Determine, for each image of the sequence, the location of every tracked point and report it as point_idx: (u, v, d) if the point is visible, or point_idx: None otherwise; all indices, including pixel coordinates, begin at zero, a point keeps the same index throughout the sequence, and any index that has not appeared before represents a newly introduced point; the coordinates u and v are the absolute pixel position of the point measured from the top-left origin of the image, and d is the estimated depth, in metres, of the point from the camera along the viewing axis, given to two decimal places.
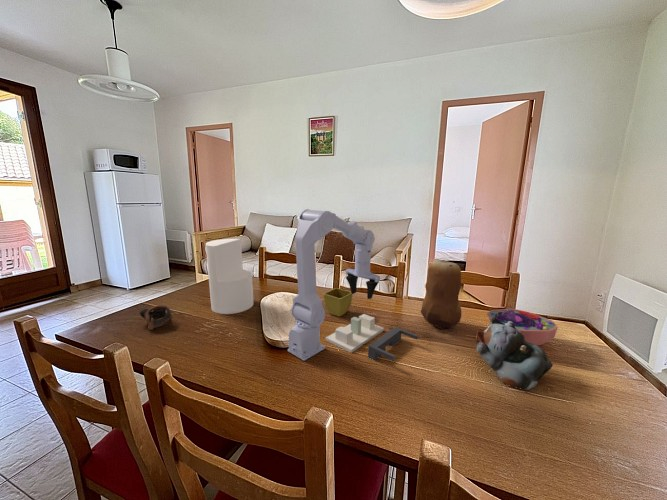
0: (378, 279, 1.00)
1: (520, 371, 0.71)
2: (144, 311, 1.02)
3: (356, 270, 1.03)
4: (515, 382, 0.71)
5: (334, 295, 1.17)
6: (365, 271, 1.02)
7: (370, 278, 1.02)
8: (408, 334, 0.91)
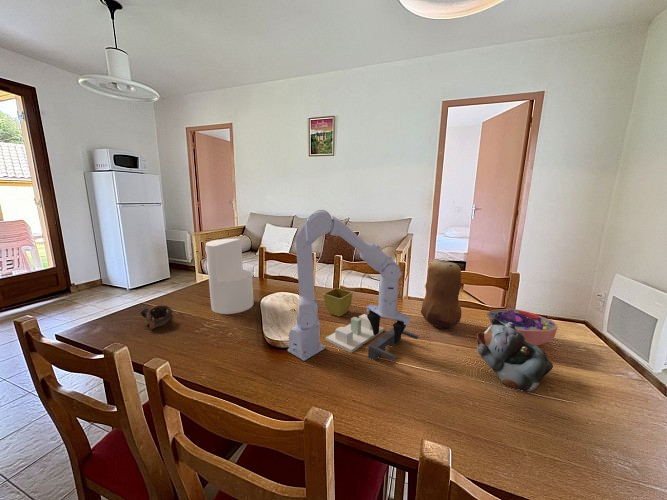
0: (408, 321, 0.82)
1: (522, 373, 0.71)
2: (145, 311, 1.03)
3: (380, 309, 0.85)
4: (516, 384, 0.70)
5: (334, 295, 1.17)
6: (392, 311, 0.84)
7: None
8: (408, 334, 0.91)
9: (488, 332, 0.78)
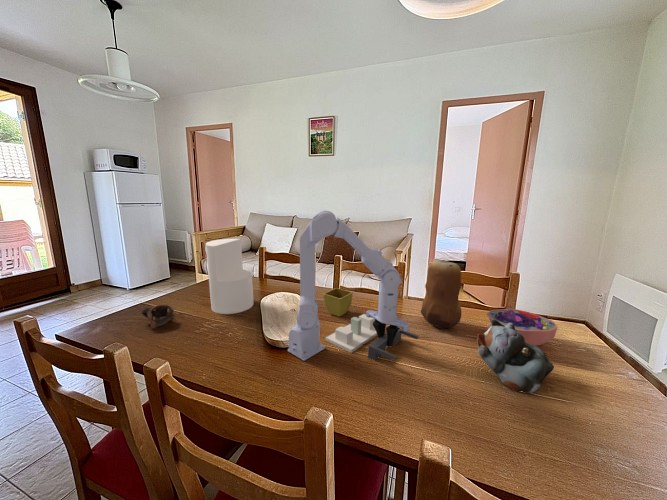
0: (408, 327, 0.83)
1: (523, 374, 0.70)
2: (146, 310, 1.03)
3: (380, 315, 0.86)
4: (518, 386, 0.70)
5: (334, 295, 1.17)
6: (392, 317, 0.84)
7: (397, 325, 0.85)
8: (408, 334, 0.91)
9: (488, 333, 0.77)
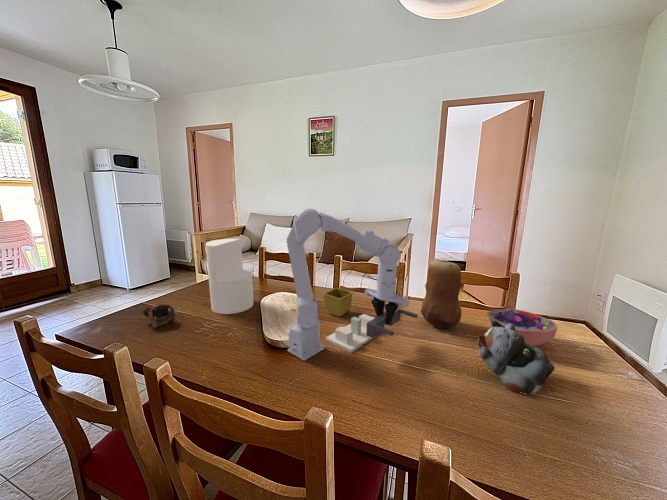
0: (406, 304, 0.82)
1: (524, 376, 0.70)
2: (147, 310, 1.03)
3: (379, 292, 0.84)
4: (519, 387, 0.69)
5: (334, 295, 1.17)
6: (391, 294, 0.83)
7: None
8: (407, 313, 0.90)
9: (489, 334, 0.77)
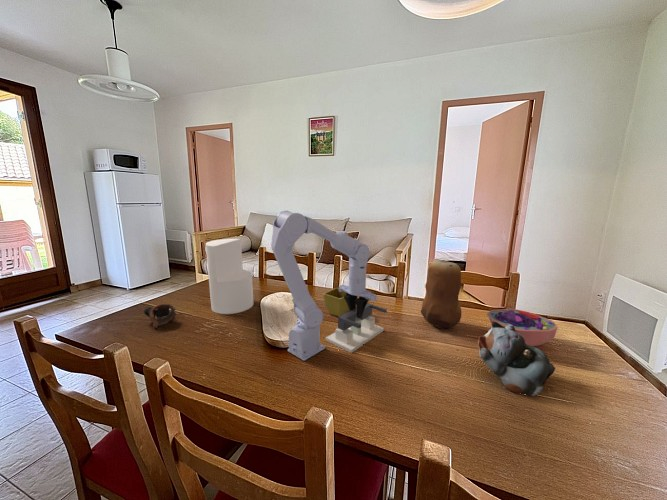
0: (374, 298, 0.89)
1: (526, 377, 0.69)
2: (148, 309, 1.04)
3: (350, 288, 0.92)
4: (520, 388, 0.69)
5: (334, 295, 1.17)
6: (360, 289, 0.91)
7: (365, 297, 0.91)
8: (377, 308, 0.98)
9: (489, 335, 0.76)
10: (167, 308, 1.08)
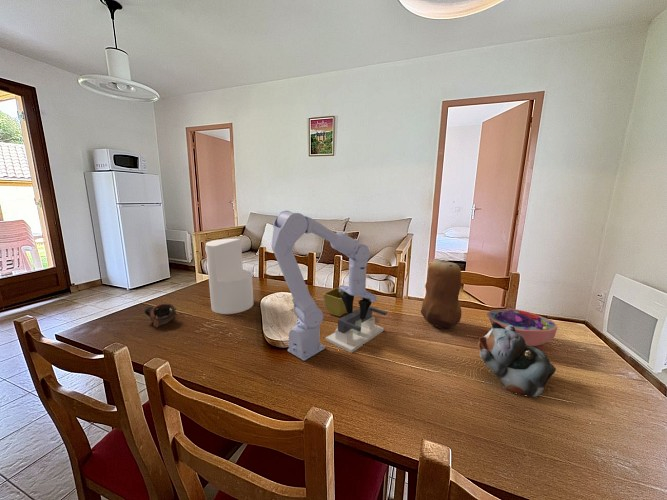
0: (374, 299, 0.89)
1: (527, 378, 0.69)
2: (149, 309, 1.04)
3: (350, 288, 0.92)
4: (522, 390, 0.68)
5: (334, 295, 1.17)
6: (360, 290, 0.91)
7: None
8: (377, 311, 0.98)
9: (490, 336, 0.76)
10: (168, 308, 1.09)
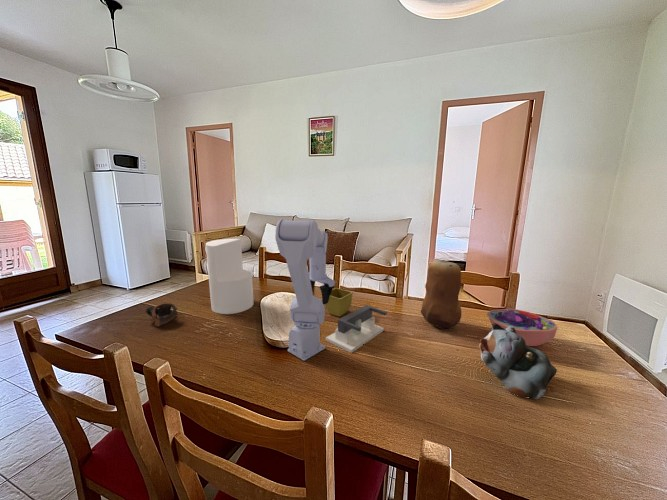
0: (332, 284, 0.94)
1: (529, 380, 0.68)
2: (150, 308, 1.04)
3: (310, 274, 0.97)
4: (524, 392, 0.68)
5: (334, 295, 1.17)
6: (320, 275, 0.96)
7: (325, 282, 0.96)
8: (377, 311, 0.98)
9: (491, 338, 0.75)
10: (169, 307, 1.09)
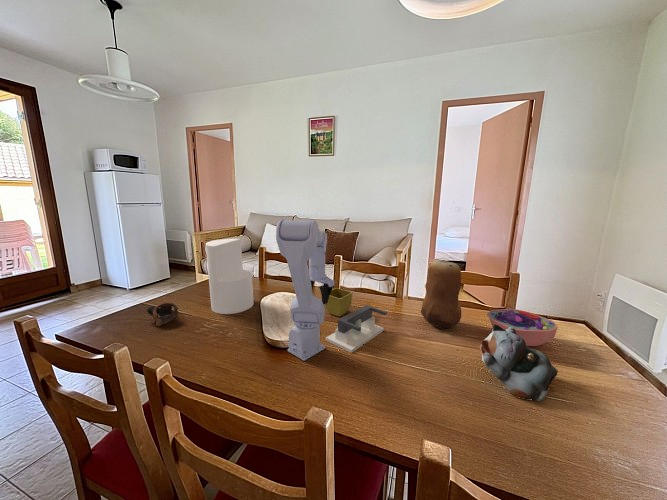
0: (332, 283, 0.94)
1: (530, 382, 0.67)
2: (151, 308, 1.05)
3: (310, 274, 0.97)
4: (525, 394, 0.67)
5: (334, 295, 1.17)
6: (319, 275, 0.96)
7: None
8: (377, 311, 0.98)
9: (492, 339, 0.74)
10: (170, 307, 1.10)
